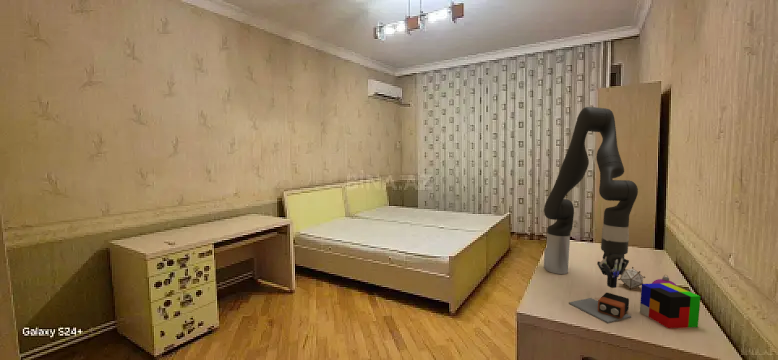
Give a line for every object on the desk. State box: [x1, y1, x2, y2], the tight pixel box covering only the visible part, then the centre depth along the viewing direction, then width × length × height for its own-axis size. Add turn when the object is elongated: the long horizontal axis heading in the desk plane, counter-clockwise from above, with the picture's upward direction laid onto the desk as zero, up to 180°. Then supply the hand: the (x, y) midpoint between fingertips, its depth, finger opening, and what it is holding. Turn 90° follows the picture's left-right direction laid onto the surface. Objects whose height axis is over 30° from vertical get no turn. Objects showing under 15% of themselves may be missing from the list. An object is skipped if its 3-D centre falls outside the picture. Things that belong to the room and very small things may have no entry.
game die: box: [617, 266, 646, 291], centre depth 126 cm, size 9×8×10 cm
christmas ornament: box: [651, 274, 679, 287], centre depth 114 cm, size 8×8×10 cm
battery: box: [597, 292, 630, 319], centre depth 105 cm, size 4×7×10 cm
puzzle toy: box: [639, 283, 702, 329], centre depth 101 cm, size 10×10×10 cm
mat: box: [568, 297, 632, 324], centre depth 107 cm, size 14×11×1 cm
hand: (611, 286), depth 108 cm, fingers closed
